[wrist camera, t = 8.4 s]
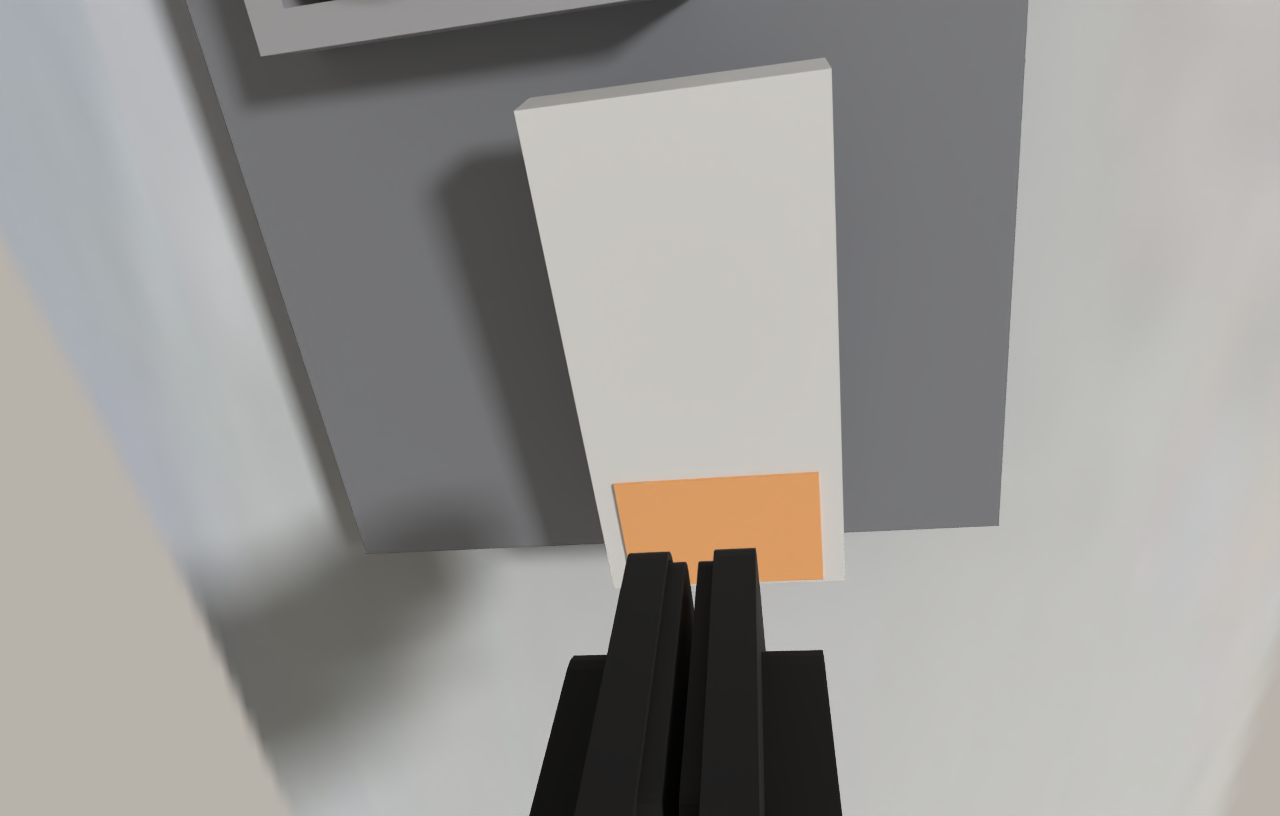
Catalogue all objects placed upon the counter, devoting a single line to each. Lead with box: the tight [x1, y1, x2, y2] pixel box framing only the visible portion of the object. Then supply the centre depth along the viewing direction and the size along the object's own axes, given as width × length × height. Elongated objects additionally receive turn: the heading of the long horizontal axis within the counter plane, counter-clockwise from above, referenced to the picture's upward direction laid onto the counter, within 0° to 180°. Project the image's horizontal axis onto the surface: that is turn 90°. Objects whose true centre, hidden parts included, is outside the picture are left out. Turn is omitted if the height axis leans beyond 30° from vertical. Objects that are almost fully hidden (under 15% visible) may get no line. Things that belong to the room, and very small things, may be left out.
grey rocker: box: [514, 58, 845, 588], centre depth 14 cm, size 9×4×1 cm, turn 7°
